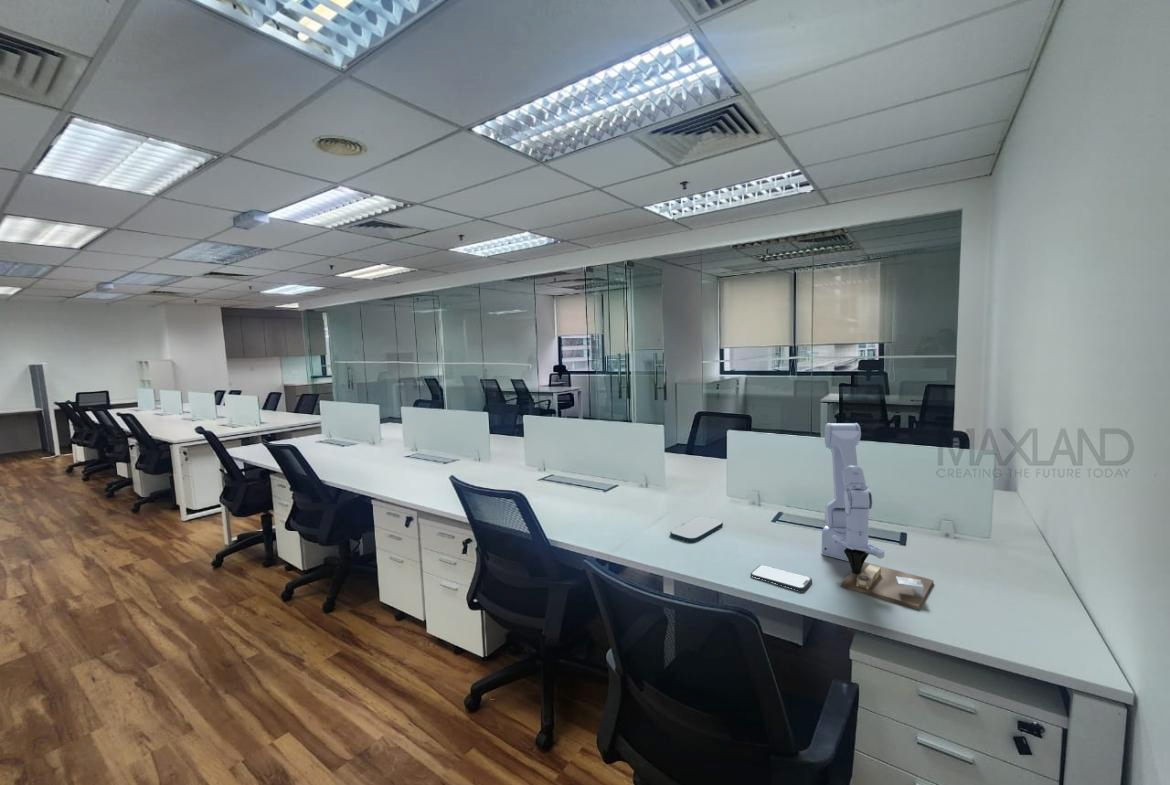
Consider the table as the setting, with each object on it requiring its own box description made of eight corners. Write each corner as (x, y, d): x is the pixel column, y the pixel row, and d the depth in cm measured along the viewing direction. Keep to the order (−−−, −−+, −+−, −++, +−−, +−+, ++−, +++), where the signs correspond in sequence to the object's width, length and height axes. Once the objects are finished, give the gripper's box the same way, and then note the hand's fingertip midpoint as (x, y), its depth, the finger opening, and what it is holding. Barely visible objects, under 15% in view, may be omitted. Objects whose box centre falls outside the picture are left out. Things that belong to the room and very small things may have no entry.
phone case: (748, 579, 149) (803, 594, 138) (748, 574, 149) (803, 589, 138) (760, 568, 156) (813, 582, 145) (760, 563, 156) (813, 577, 145)
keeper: (897, 595, 134) (898, 583, 133) (895, 588, 138) (895, 576, 137) (923, 599, 131) (923, 587, 131) (920, 591, 135) (920, 579, 135)
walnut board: (840, 586, 142) (840, 582, 141) (861, 564, 155) (861, 561, 155) (918, 609, 128) (918, 606, 128) (933, 583, 141) (933, 580, 141)
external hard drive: (693, 545, 175) (693, 539, 175) (666, 537, 183) (666, 532, 183) (725, 526, 191) (725, 521, 191) (700, 519, 200) (700, 515, 199)
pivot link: (869, 590, 136) (869, 581, 136) (854, 586, 139) (855, 577, 139) (881, 574, 145) (882, 565, 145) (868, 570, 148) (868, 562, 148)
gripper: (826, 524, 148) (825, 567, 149) (875, 540, 136) (874, 586, 137) (839, 519, 152) (838, 561, 153) (888, 534, 140) (887, 579, 141)
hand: (856, 573), depth 145 cm, fingers closed
